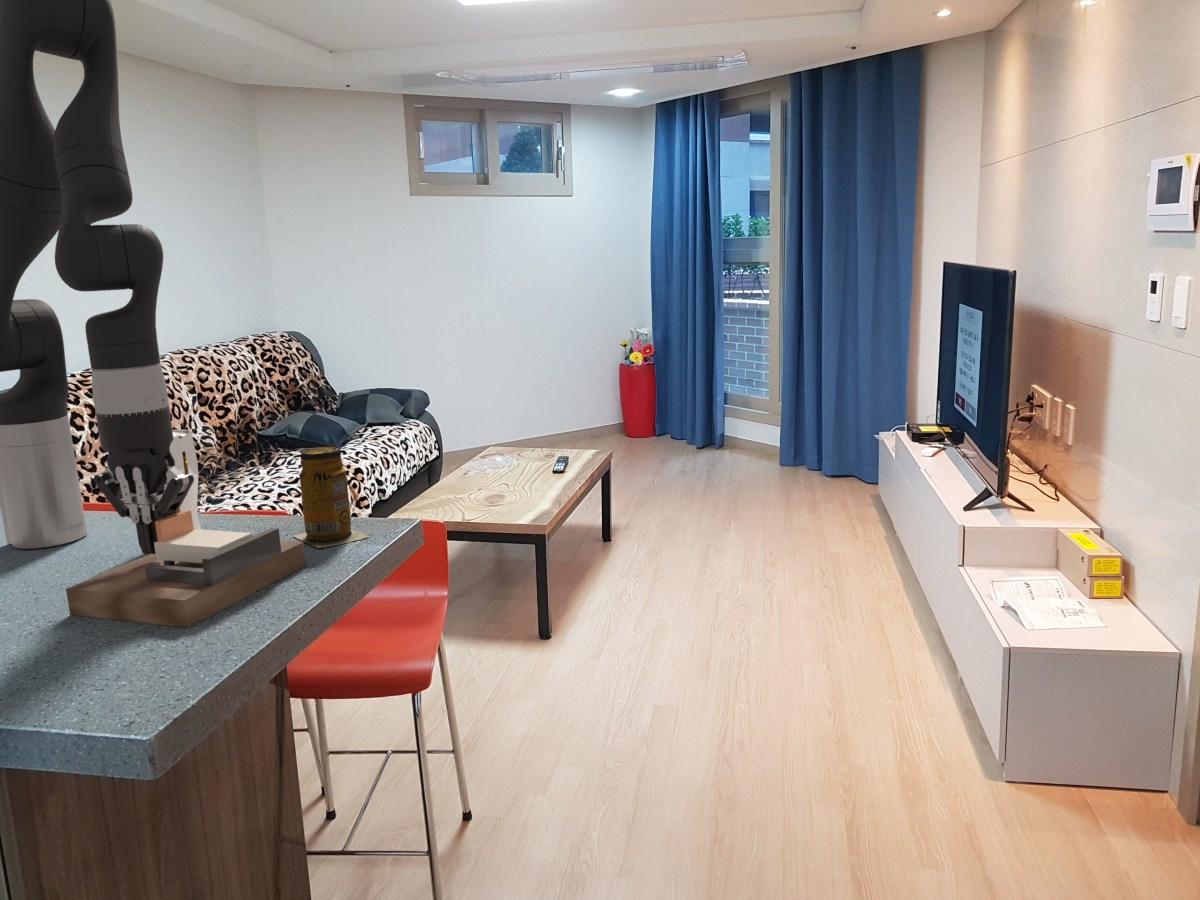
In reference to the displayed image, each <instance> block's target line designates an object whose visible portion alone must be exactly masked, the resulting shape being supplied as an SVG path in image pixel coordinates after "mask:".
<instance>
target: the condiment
mask: <svg viewBox="0 0 1200 900" xmlns="http://www.w3.org/2000/svg"><path fill="white" fill-rule="evenodd" d="M299 455H300V460H301V461H300V467H301V468H302V469H301V471H300V472H299V477H298V478H299V483H300V492H301V502H302V511H303V512H302V513H303V521H304V530H305V531H304V532H301V533H299V534H298V533H297V534H294V535H293V537H295V538H296V539H297V540H299V541H300V542H304V543H307V544H308V545H310V546H312V547H315V548H317V549H321V548H328V547H333V546H339V545H342V544H343V545H344V544H350V543H351V542H354V541H359V540H360V541H361V540H363V539H367V538H370V536H369V535H367V534H365V533H362V532H360V531H357V530H354V529H352V528H351V526H352V522H351V521H352V519H351V518H352V517H351V507H350V505H351V504H350V496H349V490H348V479H347V478H348V477H347V470H346V468H345V467H344V466H343V460H342V459H343V458H342V451H341V449H340V448H339V447H335V446H321V447H313V448H308V449H305V450H303V451H301V453H300V454H299ZM317 542H318V543H317Z"/></svg>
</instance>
